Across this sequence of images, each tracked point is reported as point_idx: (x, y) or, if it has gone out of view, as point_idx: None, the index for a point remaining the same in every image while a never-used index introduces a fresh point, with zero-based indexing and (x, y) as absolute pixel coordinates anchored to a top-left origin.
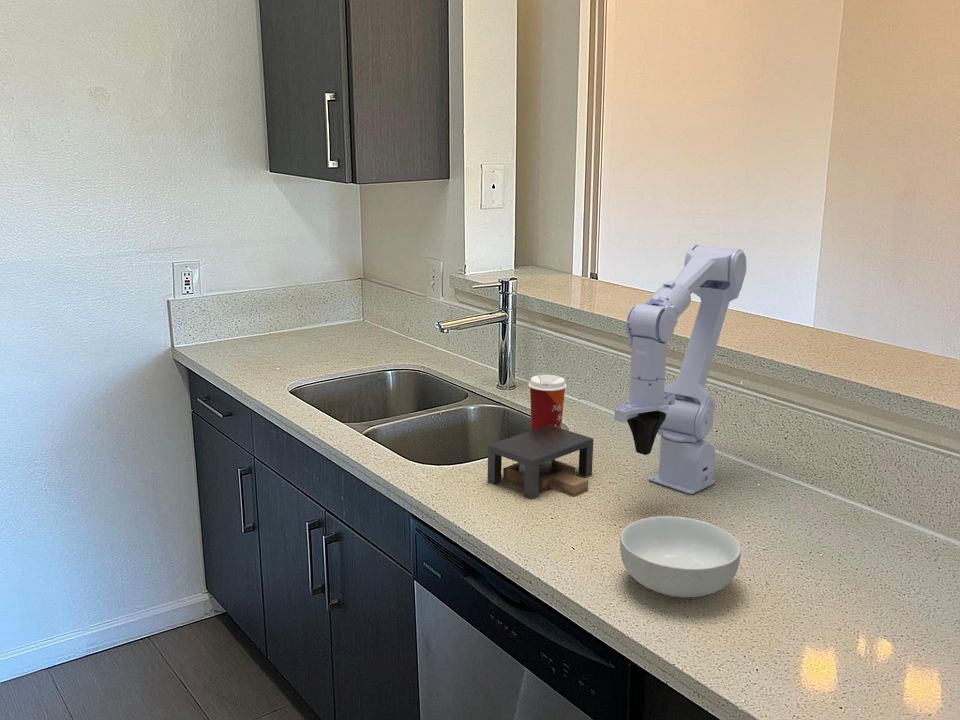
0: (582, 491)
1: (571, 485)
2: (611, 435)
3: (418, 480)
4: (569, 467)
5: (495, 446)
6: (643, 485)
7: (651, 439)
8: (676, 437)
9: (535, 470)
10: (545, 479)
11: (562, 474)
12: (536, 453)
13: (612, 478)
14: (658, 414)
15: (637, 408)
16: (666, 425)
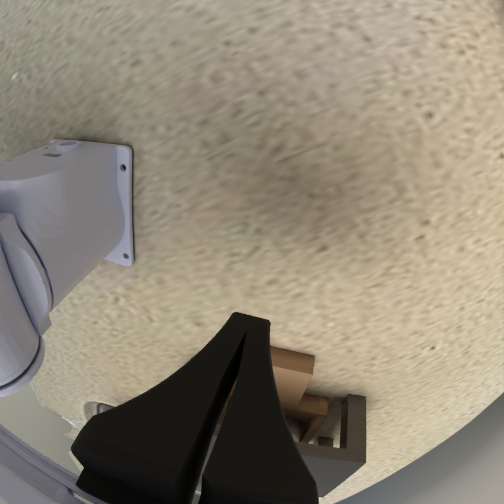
0: (285, 352)
1: (310, 378)
2: (56, 357)
3: (362, 475)
4: (228, 398)
5: (323, 493)
6: (160, 263)
7: (228, 364)
8: (32, 274)
9: (357, 442)
10: (310, 412)
11: None
12: (321, 467)
13: (177, 325)
14: (139, 485)
15: None
16: (24, 325)
